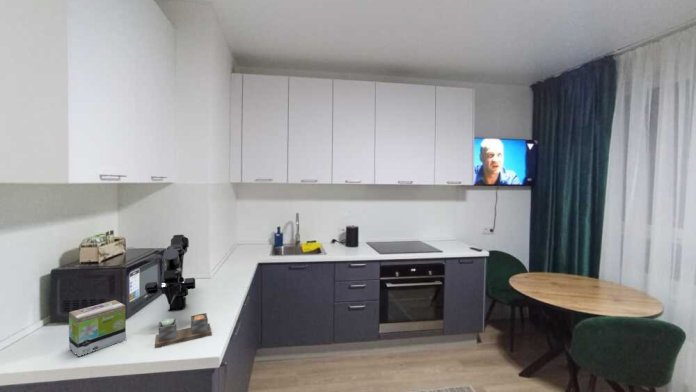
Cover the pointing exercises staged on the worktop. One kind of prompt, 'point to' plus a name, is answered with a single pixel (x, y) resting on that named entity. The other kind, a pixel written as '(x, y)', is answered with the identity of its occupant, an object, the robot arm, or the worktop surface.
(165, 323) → the sage button
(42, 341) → the worktop surface
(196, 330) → the button board
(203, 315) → the terracotta button
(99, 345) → the tea box
